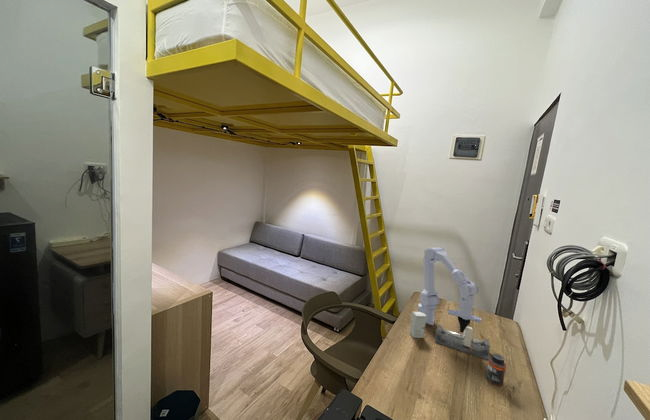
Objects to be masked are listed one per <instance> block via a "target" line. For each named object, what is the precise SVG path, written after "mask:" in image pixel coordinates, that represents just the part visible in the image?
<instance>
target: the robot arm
mask: <svg viewBox="0 0 650 420" xmlns="http://www.w3.org/2000/svg"><path fill="white" fill-rule="evenodd" d="M436 262H440V263H442V264H443V265H444V266H445V268H446V269H447V270H448V271H449V272H450V277H451V278H452V279H453V281H454V282H455V283H456V284H457V286H459V288H458V289H459V292H460V298H459V299H460V300H459V305H458V310H453V309H448V308H447V309H448V311H447V315H450V316H454V317H457V320H458V324H459V332H460V333H463V334H464V330H465V328H466V327H467V326H468V327H469V325H470V323H471V321H472V322H475V323H478V324H482V318H481V317H478V316H476V315H473V314H472V312H473V307H474V301H475V296H476V294H479V288H478V286H477V284H476V283H475V282H473V281H471V280H470V279H469V278H468V277H467V276H466V275H465V273H464V271H462V270H460V269H458V268H457V267H456V265H454V263H453V261H452V260H451V259H450V257H449V256H448V253H447V251H446V250H445V249H444V248H443V247H440V246H439V247H438V246H437V247H427V248H426V249H425V250H424V257H423V282H424V285H423V287H424V289H423V290H422V291H421V292H420V298H419V302H420V303H418V304H417V305H418V306H417V311H416V312H423V313H424V314H425V315H426V316H427V318H426V324H428V325H431V326H435V325H434V324H435V312H436V308H437V306H438V305H439V304H440V298H439V293H438V292H437V291H436V288H435V267H434V266H435V263H436Z"/></svg>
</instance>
